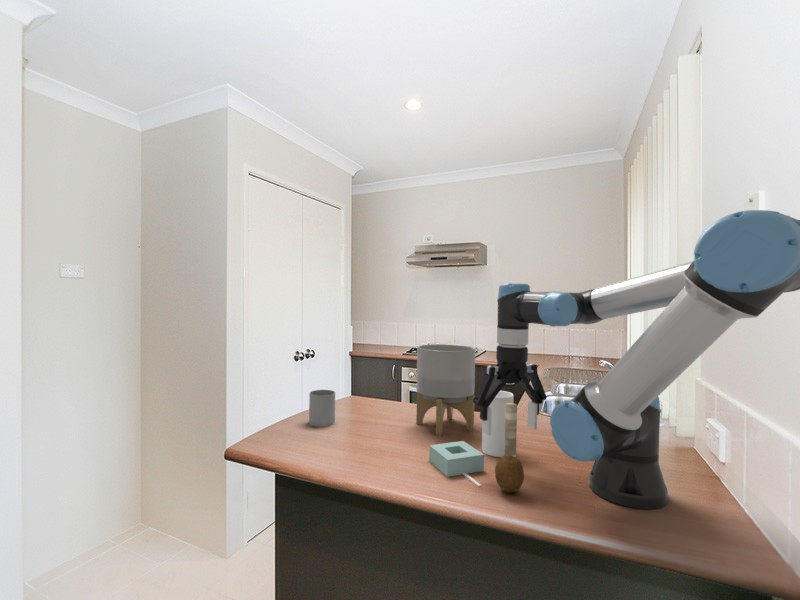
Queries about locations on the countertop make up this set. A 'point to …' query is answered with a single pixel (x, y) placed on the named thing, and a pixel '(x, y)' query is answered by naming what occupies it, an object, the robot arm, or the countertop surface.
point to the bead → (456, 458)
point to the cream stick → (472, 479)
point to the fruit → (509, 473)
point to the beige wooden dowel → (510, 429)
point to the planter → (445, 382)
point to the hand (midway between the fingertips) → (509, 430)
